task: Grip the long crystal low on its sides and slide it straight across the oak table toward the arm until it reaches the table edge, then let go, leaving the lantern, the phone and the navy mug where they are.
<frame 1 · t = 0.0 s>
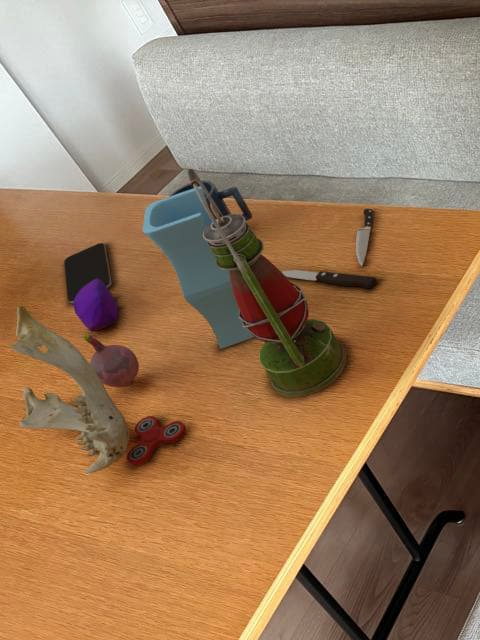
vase: (246, 324, 118), on the table
vegetable: (131, 385, 114), on the table
kitchen knife: (320, 282, 120), on the table
lantern: (309, 368, 108), on the table
fidget spinner: (154, 431, 103), point 2 cm above the table, touching jawbone
jawbone: (115, 399, 107), point 3 cm above the table, touching fidget spinner
mug: (217, 240, 135), on the table
knife: (355, 235, 125), point 1 cm above the table
smartphone: (89, 274, 137), on the table, touching crystal
crystal: (105, 312, 128), on the table, touching smartphone
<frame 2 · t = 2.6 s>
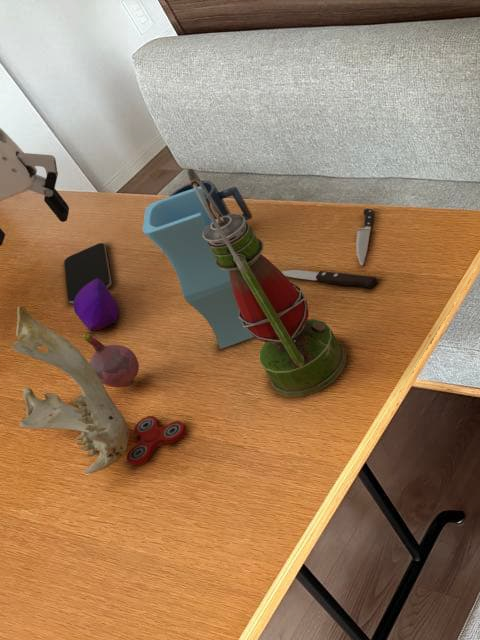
hand: (33, 228, 116), 17 cm above the table, tool pointing down, fingers open, 9 cm apart
nothing on the table moved.
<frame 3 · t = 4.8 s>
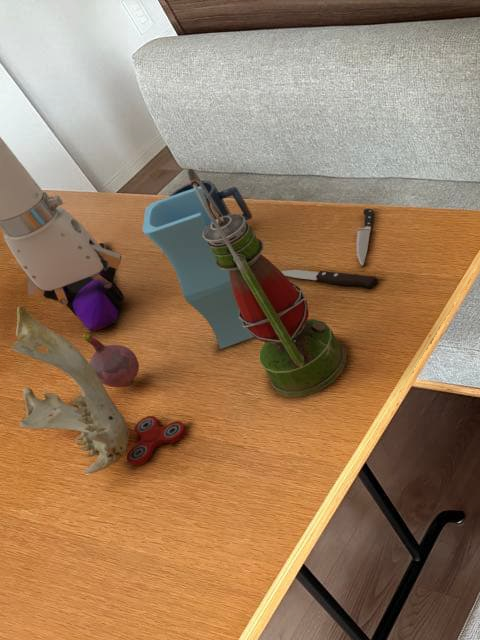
hand: (103, 309, 127), 1 cm above the table, tool pointing down, fingers closed on crystal, 4 cm apart
crystal: (105, 312, 128), on the table, touching gripper, smartphone
everything else where it was.
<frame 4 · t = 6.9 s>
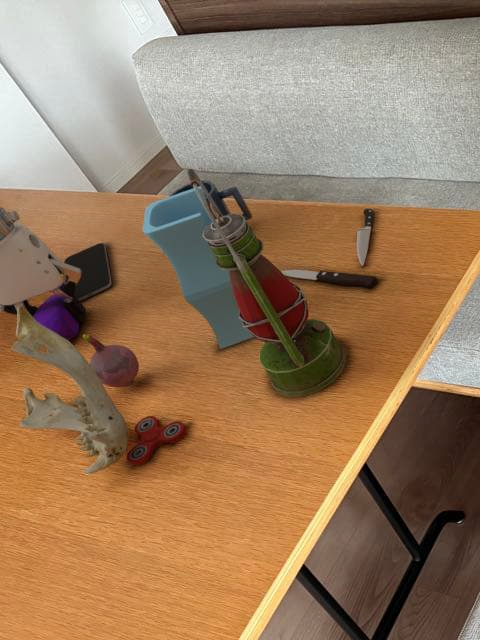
hand: (65, 323, 127), 1 cm above the table, tool pointing down, fingers closed on crystal, 4 cm apart
smartphone: (89, 274, 137), on the table
crystal: (67, 326, 127), on the table, touching gripper
everything else where it was.
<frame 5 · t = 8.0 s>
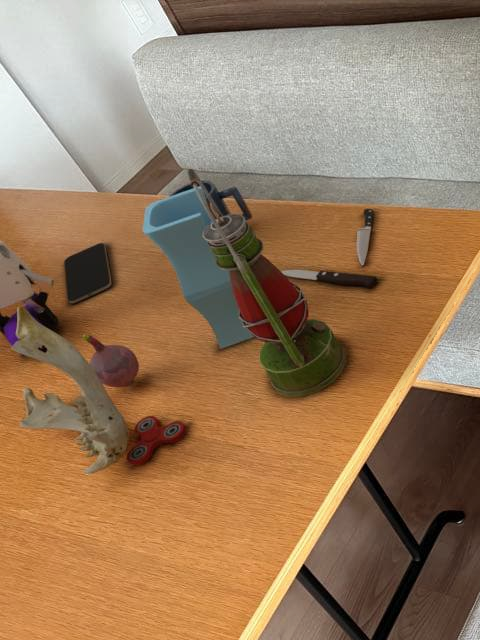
hand: (37, 333, 127), 1 cm above the table, tool pointing down, fingers closed on crystal, 4 cm apart
crystal: (39, 336, 127), on the table, touching gripper
everything else where it was.
when the fingers open (1 cm above the table, at t = 9.0 s): crystal stays where it is, on the table.
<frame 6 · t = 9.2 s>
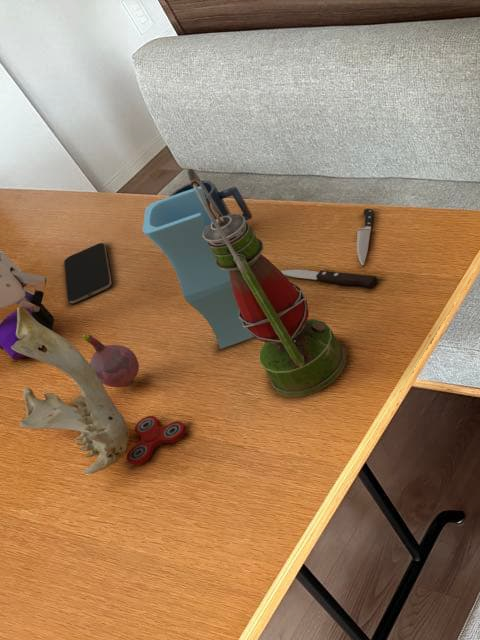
hand: (28, 334, 126), 1 cm above the table, tool pointing down, fingers open, 6 cm apart
crystal: (32, 340, 127), on the table
everything else where it was.
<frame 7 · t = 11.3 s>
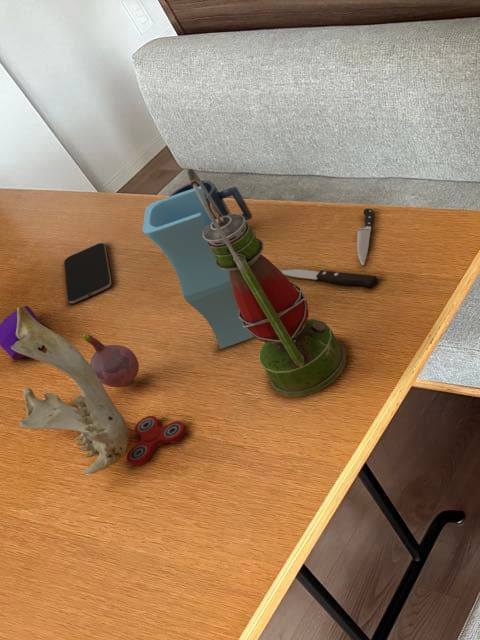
nothing on the table moved.
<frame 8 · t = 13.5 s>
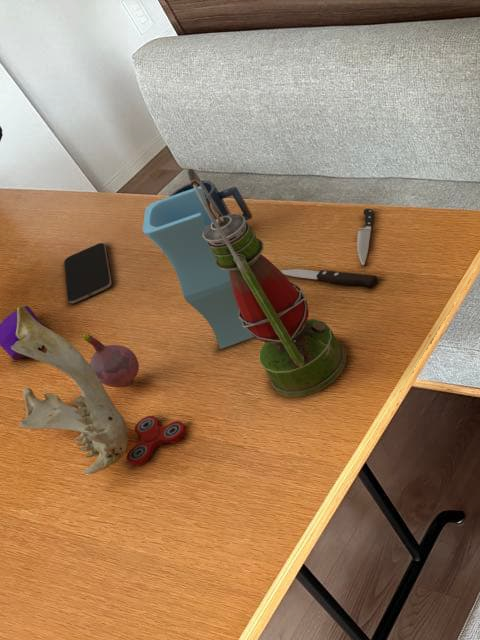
nothing on the table moved.
at the end: crystal inside the target area (0.3 cm from its centre), on the table; crystal moved 12.3 cm from its start; the gripper is holding nothing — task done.
